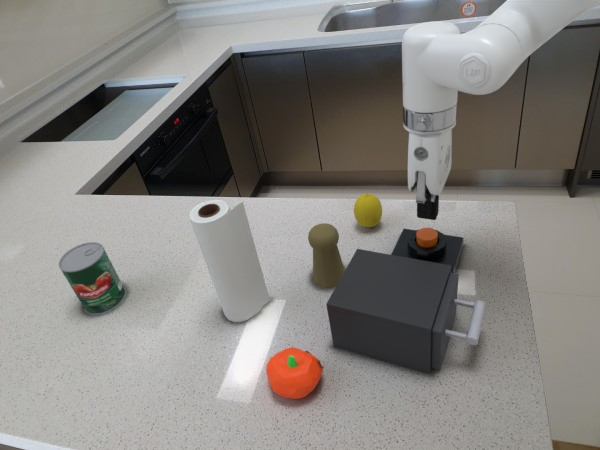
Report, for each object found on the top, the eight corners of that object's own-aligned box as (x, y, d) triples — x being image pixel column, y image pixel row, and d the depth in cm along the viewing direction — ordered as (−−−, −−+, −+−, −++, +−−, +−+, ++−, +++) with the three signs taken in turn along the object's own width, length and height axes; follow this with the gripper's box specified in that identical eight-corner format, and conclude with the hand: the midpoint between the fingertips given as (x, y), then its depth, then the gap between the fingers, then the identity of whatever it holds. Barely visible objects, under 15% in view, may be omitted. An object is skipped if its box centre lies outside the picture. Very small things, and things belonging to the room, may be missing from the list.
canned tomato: (96, 321, 83) (69, 277, 77) (77, 303, 88) (50, 260, 82) (134, 295, 87) (111, 251, 81) (114, 279, 92) (91, 236, 86)
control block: (462, 246, 84) (464, 229, 82) (453, 279, 78) (454, 261, 76) (403, 237, 89) (403, 220, 87) (389, 267, 83) (389, 250, 80)
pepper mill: (324, 262, 87) (317, 215, 80) (352, 271, 83) (347, 223, 77) (306, 282, 83) (297, 234, 76) (335, 293, 80) (327, 244, 73)
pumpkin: (281, 357, 70) (273, 329, 67) (330, 369, 67) (325, 341, 64) (260, 397, 65) (251, 369, 62) (312, 413, 62) (305, 384, 58)
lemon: (353, 221, 96) (349, 189, 91) (379, 216, 95) (377, 184, 91) (358, 237, 91) (355, 204, 86) (386, 232, 91) (384, 198, 86)
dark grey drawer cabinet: (449, 310, 73) (451, 265, 67) (430, 375, 64) (430, 329, 58) (361, 291, 79) (357, 248, 73) (333, 347, 70) (326, 303, 65)
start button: (439, 237, 82) (439, 229, 81) (434, 249, 79) (435, 241, 78) (419, 233, 83) (419, 226, 82) (414, 246, 81) (414, 238, 80)
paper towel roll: (218, 319, 79) (180, 219, 66) (234, 295, 83) (201, 196, 71) (255, 327, 76) (223, 224, 64) (270, 301, 80) (242, 200, 68)
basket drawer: (485, 317, 69) (490, 279, 65) (472, 379, 62) (476, 341, 57) (373, 292, 77) (369, 257, 73) (348, 344, 69) (343, 308, 65)
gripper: (444, 139, 60) (440, 247, 71) (465, 95, 71) (459, 195, 81) (389, 136, 64) (393, 239, 74) (416, 94, 74) (416, 190, 85)
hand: (427, 216), depth 78 cm, fingers closed
